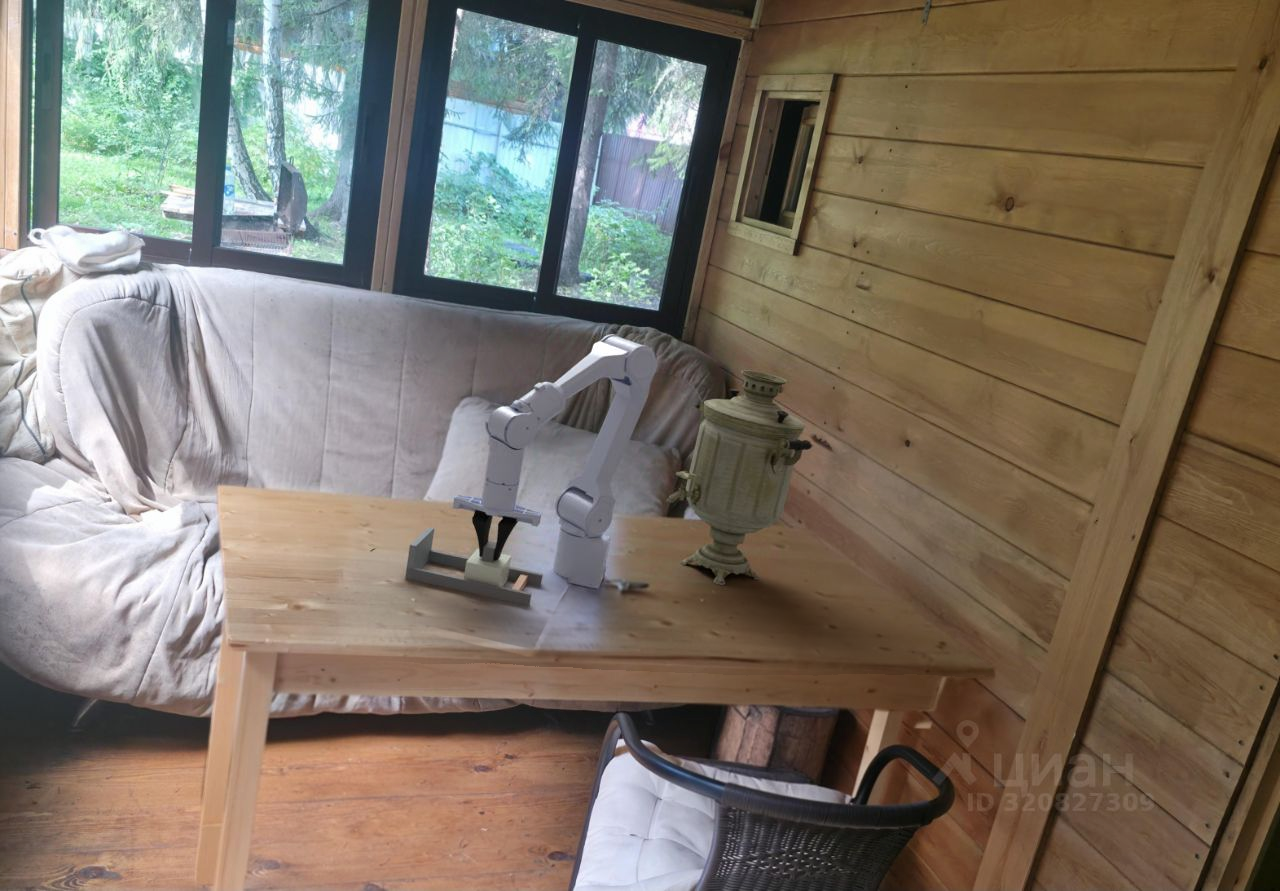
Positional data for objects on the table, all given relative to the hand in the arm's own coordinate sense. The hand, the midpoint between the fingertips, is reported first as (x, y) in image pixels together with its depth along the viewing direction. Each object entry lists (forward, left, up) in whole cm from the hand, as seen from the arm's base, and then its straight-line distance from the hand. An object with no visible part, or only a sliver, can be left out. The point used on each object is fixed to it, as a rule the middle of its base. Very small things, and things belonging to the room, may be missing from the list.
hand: (489, 556), depth 169 cm
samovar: (-37, -33, -6) cm, 50 cm away
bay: (+2, 0, -6) cm, 6 cm away
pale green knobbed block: (0, 0, -5) cm, 5 cm away
